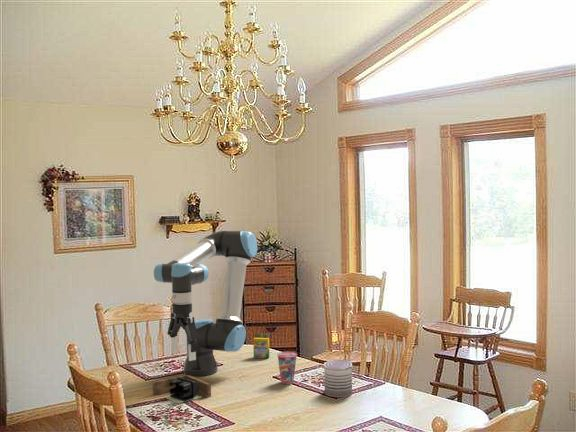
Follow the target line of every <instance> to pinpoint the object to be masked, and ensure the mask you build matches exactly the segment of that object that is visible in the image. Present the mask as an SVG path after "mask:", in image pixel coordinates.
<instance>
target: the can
mask: <svg viewBox="0 0 576 432" xmlns="http://www.w3.org/2000/svg"><path fill="white" fill-rule="evenodd" d="M352 367H353V362H352V361H350V360H346V359H331V360H328V361H326V362H324V363H323V368H324V371H323V372H324V373H323V376H324V377H323V378H324V395H326V396H328V397H331V398H345V397H346V398H347V397H349V396H351V395H353V385H352V384H353V377H352V375H353V372H352V371H353V368H352Z"/></svg>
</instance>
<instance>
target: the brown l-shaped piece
mask: <svg viewBox="0 0 576 432" xmlns="http://www.w3.org/2000/svg"><path fill="white" fill-rule="evenodd" d="M177 377H180V378H184V379H188V380H191V381H195V382H197V383H198V385H199V391H198V393H197V394H198V395H200V396H204V397H205V398H211V397H212V384H211V383H209V382H206V381H205V380H203V379H200V378H198V377H196V376H191V375H186V374H184V375H179V376H175V377H170V378H166V379H160V380H155V381H152V395H153V396H156V395H157V396H158V395H161V394H166V393H170V389H171V388H174V387H175V385H172V386H169V382H170V381H174V380H177Z"/></svg>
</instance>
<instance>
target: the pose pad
mask: <svg viewBox="0 0 576 432" xmlns="http://www.w3.org/2000/svg"><path fill="white" fill-rule="evenodd" d="M201 398H202V395H200V394H197V395H196V396H195V397H194V398H193V399H190V400H187V401H182V400H179V399H176V398H172V397H170V395H169V396H165V399H167V400H169V401H171V402H173V403H175V404H180V403H186V402H189V401H193V400H197V399H201Z"/></svg>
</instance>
